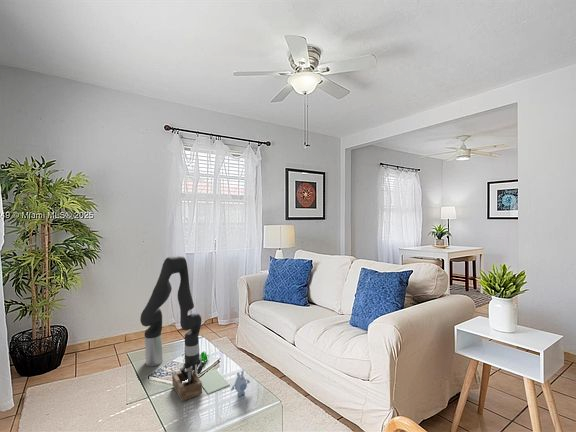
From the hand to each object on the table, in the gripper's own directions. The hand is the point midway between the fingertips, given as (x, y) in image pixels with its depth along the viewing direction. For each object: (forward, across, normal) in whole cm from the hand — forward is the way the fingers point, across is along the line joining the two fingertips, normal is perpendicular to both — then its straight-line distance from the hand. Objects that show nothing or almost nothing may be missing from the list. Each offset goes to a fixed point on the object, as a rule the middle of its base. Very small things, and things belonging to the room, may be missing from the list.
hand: (192, 382), depth 168 cm
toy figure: (+2, -17, +22) cm, 28 cm away
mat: (+1, -10, +3) cm, 10 cm away
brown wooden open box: (+1, +4, +3) cm, 5 cm away
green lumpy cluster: (+2, -10, -21) cm, 23 cm away
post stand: (+1, +4, +7) cm, 8 cm away
